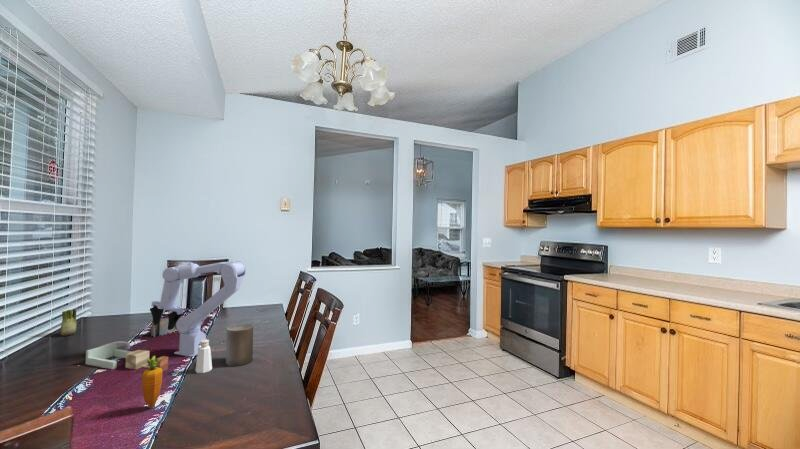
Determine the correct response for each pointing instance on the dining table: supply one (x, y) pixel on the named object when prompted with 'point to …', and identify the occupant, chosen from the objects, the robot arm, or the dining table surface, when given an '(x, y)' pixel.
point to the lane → (105, 356)
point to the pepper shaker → (204, 357)
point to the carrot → (152, 382)
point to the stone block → (119, 345)
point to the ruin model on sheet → (162, 328)
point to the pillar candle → (239, 344)
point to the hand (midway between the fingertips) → (163, 326)
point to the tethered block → (143, 360)
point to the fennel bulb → (68, 322)
